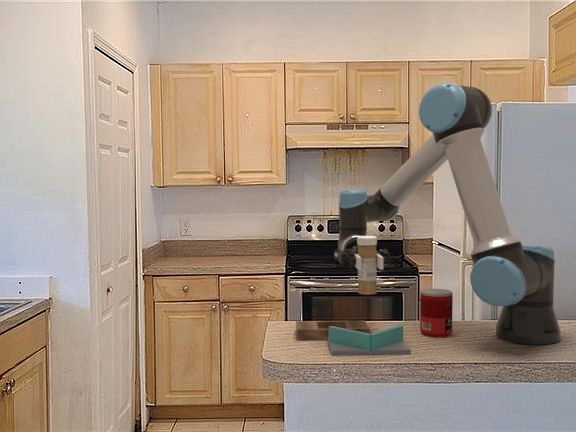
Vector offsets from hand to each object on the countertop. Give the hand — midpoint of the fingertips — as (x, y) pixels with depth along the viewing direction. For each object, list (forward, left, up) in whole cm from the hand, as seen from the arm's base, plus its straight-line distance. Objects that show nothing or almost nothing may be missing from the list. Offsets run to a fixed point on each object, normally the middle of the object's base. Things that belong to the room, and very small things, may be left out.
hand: (370, 263), depth 150 cm
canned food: (-12, -23, -21) cm, 33 cm away
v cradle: (+2, -5, -21) cm, 21 cm away
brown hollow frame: (+13, -14, -21) cm, 28 cm away
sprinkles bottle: (+2, -5, -8) cm, 10 cm away
